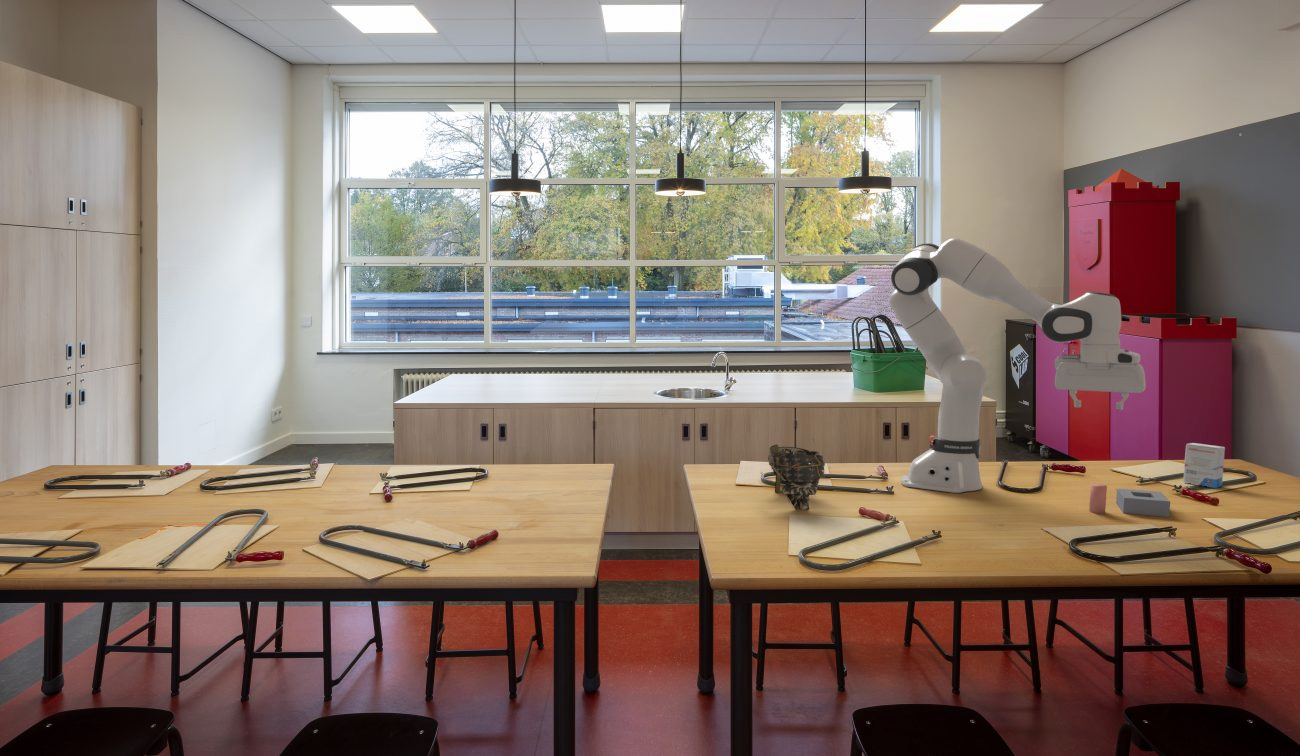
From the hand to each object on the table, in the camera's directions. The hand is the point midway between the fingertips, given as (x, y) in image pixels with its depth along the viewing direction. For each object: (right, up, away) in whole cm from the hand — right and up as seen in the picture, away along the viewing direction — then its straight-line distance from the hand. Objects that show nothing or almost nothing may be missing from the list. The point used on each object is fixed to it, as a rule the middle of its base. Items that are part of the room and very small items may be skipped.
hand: (1098, 408), depth 198 cm
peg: (-1, -27, 0) cm, 27 cm away
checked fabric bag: (-76, -26, +14) cm, 81 cm away
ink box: (+46, -24, +26) cm, 58 cm away
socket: (+12, -26, +1) cm, 29 cm away
